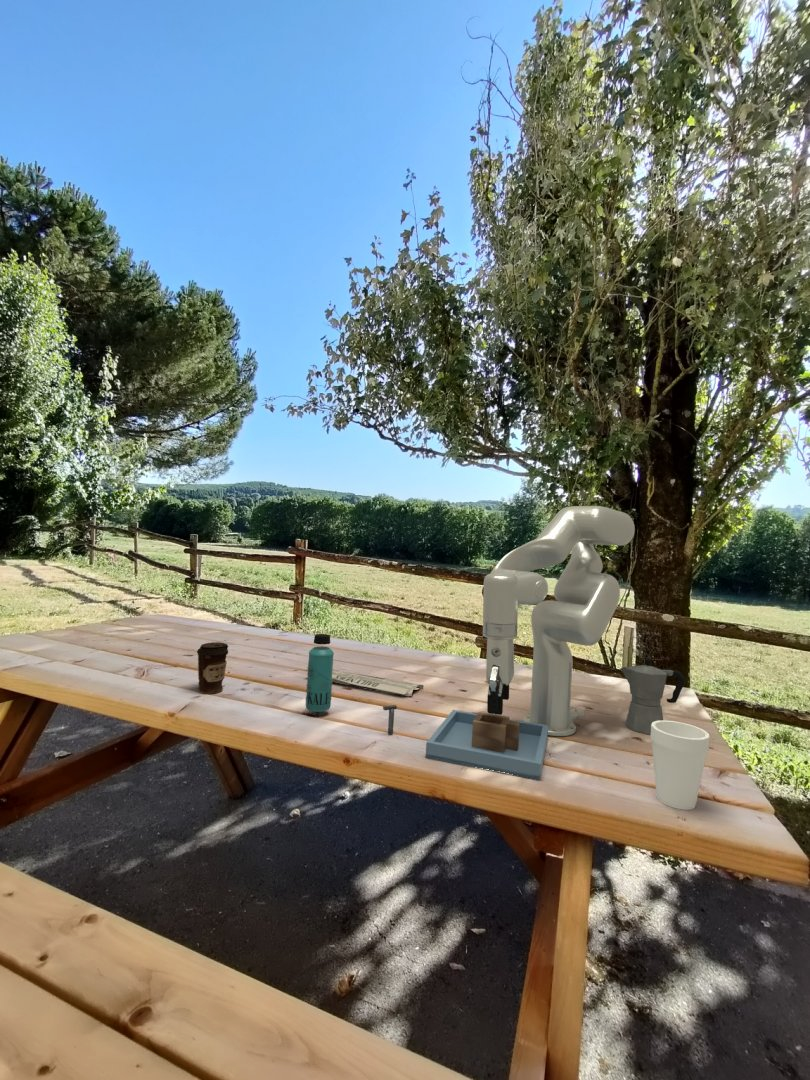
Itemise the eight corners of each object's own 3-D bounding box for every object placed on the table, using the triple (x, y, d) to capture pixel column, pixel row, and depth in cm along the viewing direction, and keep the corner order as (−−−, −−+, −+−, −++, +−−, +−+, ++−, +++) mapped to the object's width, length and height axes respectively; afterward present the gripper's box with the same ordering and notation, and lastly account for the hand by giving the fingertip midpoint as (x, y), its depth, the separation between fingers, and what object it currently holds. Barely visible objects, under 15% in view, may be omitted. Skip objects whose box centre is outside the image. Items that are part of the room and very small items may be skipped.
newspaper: (423, 690, 156) (423, 678, 156) (408, 701, 144) (409, 689, 144) (322, 673, 169) (323, 662, 169) (301, 682, 157) (302, 670, 157)
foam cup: (639, 785, 98) (643, 718, 98) (690, 790, 98) (693, 722, 98) (660, 811, 89) (664, 737, 89) (715, 817, 88) (720, 741, 88)
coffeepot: (619, 731, 128) (623, 659, 128) (614, 719, 137) (617, 652, 137) (687, 740, 124) (691, 666, 124) (677, 727, 133) (681, 658, 133)
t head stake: (393, 732, 119) (394, 704, 119) (395, 734, 118) (396, 706, 118) (381, 734, 117) (382, 705, 117) (383, 736, 116) (385, 707, 116)
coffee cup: (233, 690, 143) (236, 644, 143) (208, 697, 136) (211, 649, 136) (213, 684, 148) (216, 640, 148) (188, 691, 141) (190, 644, 141)
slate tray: (452, 722, 128) (453, 709, 128) (547, 739, 120) (548, 725, 120) (425, 757, 106) (426, 742, 106) (539, 780, 98) (540, 764, 98)
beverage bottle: (318, 707, 133) (323, 631, 133) (336, 714, 129) (340, 635, 129) (299, 713, 128) (303, 633, 128) (316, 720, 124) (321, 637, 124)
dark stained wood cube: (519, 743, 114) (520, 718, 114) (515, 755, 108) (517, 729, 108) (477, 735, 117) (478, 711, 117) (471, 746, 111) (472, 721, 111)
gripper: (511, 639, 104) (510, 722, 104) (521, 623, 120) (520, 695, 121) (475, 636, 106) (473, 717, 107) (489, 621, 122) (488, 691, 123)
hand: (498, 705), depth 114 cm, fingers open, 9 cm apart
